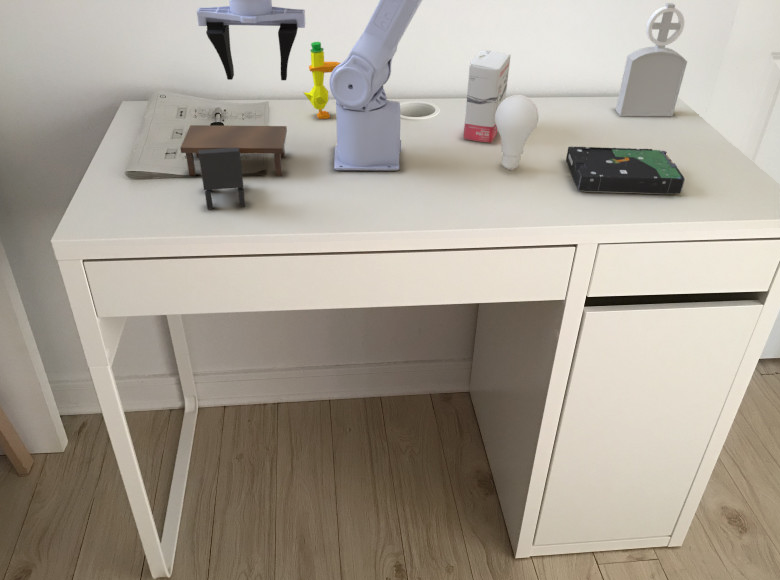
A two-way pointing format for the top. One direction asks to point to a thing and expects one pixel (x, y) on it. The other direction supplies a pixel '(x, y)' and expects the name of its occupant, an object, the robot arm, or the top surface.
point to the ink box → (485, 94)
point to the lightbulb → (515, 127)
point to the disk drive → (623, 170)
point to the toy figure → (319, 79)
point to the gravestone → (654, 71)
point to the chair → (221, 172)
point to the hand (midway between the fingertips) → (257, 77)
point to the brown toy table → (235, 141)
